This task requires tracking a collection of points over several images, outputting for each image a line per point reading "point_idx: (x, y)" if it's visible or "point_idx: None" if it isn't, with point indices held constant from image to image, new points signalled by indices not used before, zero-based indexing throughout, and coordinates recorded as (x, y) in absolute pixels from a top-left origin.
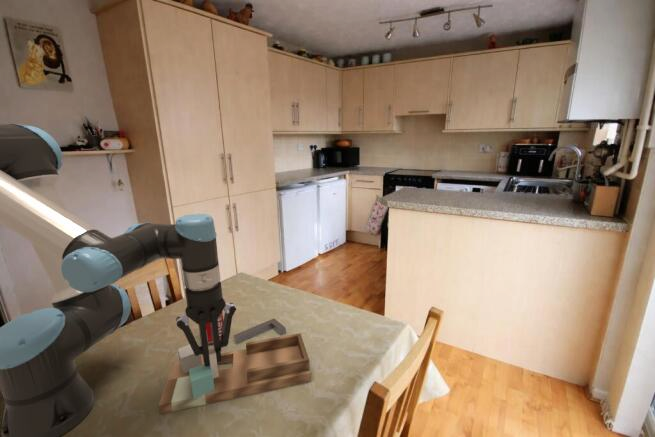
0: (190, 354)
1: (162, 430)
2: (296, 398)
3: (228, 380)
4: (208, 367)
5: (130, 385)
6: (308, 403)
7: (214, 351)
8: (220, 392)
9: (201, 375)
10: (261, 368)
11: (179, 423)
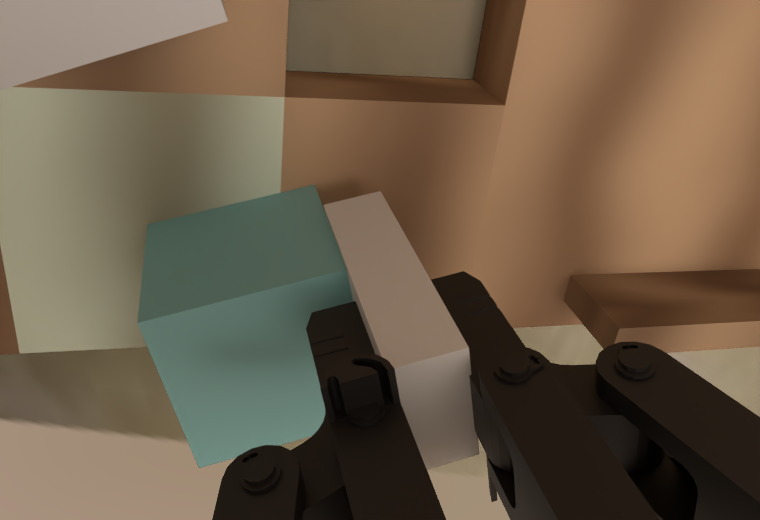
0: (92, 52)
1: (16, 416)
2: (729, 358)
3: (447, 245)
4: None
5: None
6: (755, 393)
7: (468, 433)
8: None
9: (281, 414)
10: (712, 342)
11: (114, 390)
